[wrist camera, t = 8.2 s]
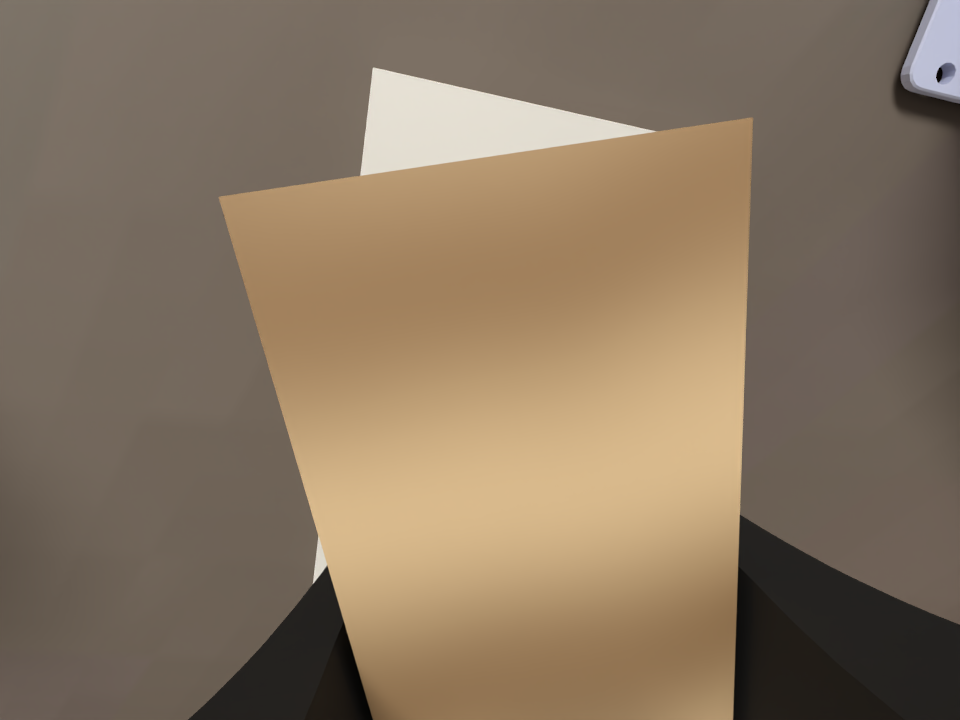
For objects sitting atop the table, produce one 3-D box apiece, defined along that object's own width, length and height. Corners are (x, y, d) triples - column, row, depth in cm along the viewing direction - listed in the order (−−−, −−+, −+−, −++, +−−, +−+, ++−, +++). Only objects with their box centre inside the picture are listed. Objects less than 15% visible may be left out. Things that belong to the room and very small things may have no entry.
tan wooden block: (635, 696, 14) (725, 952, 10) (453, 723, 14) (453, 992, 10) (605, 144, 10) (752, 118, 5) (333, 185, 10) (218, 196, 5)
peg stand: (725, 152, 15) (786, 148, 12) (576, 609, 21) (596, 678, 18) (378, 74, 14) (359, 50, 11) (318, 578, 20) (295, 646, 17)
